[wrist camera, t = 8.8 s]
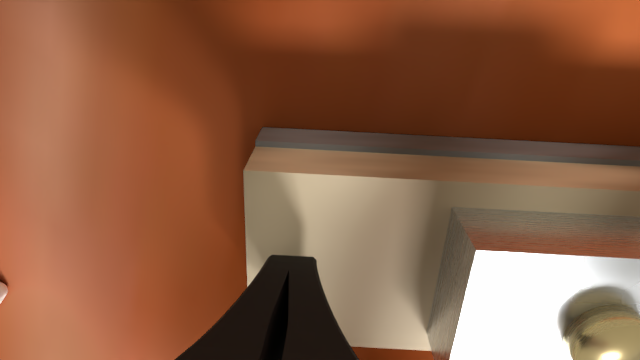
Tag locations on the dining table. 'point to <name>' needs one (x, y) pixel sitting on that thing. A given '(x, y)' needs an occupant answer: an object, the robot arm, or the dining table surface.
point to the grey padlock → (3, 291)
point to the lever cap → (537, 287)
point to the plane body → (407, 210)
